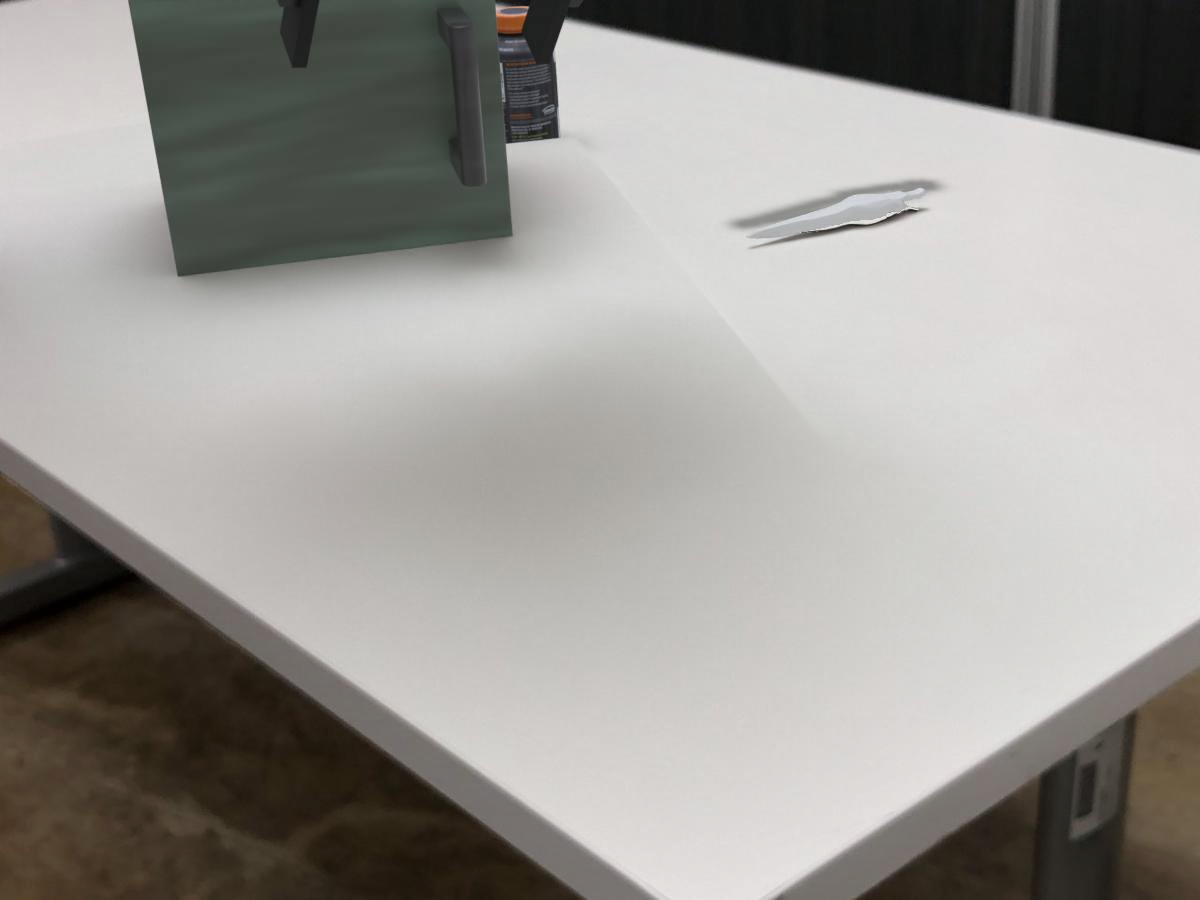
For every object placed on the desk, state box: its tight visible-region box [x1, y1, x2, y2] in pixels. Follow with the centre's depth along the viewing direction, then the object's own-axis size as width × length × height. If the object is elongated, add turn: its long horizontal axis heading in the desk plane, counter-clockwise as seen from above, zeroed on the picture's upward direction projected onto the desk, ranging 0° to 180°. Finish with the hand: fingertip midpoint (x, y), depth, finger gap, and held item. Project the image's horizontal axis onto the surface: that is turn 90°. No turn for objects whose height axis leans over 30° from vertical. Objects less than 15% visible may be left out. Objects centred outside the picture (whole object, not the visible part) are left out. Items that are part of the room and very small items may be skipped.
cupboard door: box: [127, 0, 514, 277], centre depth 98 cm, size 7×22×24 cm, turn 103°
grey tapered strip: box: [746, 187, 926, 240], centre depth 110 cm, size 15×3×2 cm, turn 117°
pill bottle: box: [496, 5, 562, 145], centre depth 129 cm, size 6×6×11 cm
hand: (418, 49), depth 83 cm, fingers open, 13 cm apart
